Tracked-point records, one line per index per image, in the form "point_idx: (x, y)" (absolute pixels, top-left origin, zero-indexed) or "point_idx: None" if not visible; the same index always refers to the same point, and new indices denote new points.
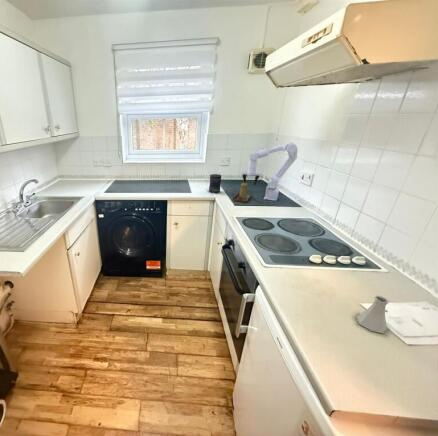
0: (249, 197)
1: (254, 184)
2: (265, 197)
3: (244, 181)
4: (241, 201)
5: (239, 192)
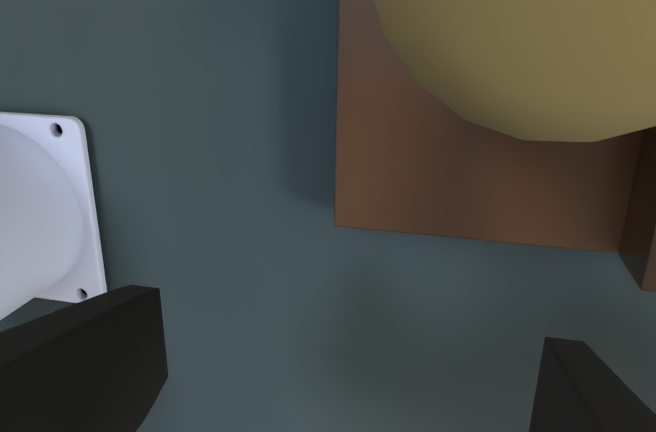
0: (339, 30)
1: (126, 294)
2: (46, 167)
3: (624, 413)
4: None
5: (641, 218)
